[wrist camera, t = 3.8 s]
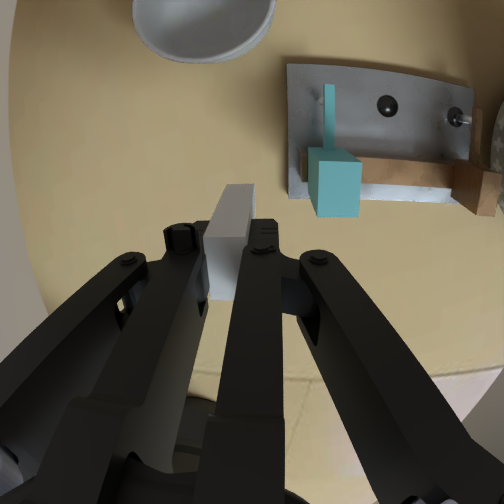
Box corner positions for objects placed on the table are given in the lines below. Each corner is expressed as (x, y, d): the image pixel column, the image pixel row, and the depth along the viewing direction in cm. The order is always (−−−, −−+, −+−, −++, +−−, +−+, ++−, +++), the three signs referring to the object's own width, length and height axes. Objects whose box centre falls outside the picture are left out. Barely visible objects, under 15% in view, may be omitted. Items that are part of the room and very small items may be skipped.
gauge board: (287, 194, 31) (294, 229, 24) (286, 64, 25) (292, 52, 18) (458, 200, 30) (500, 231, 23) (468, 89, 24) (518, 94, 17)
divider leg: (305, 185, 29) (317, 217, 22) (304, 85, 25) (319, 80, 18) (336, 185, 29) (358, 217, 22) (338, 86, 25) (364, 84, 17)
